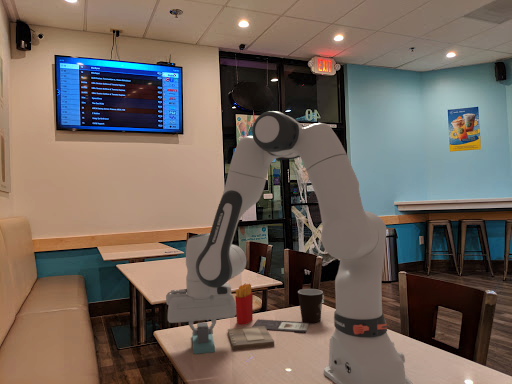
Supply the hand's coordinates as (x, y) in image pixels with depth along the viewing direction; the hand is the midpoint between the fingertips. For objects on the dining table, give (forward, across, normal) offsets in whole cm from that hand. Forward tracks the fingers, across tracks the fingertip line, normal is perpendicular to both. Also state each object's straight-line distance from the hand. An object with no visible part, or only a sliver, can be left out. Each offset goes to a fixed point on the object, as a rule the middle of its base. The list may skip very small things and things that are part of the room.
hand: (202, 334), depth 114 cm
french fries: (+3, +15, +17) cm, 23 cm away
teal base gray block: (+3, 0, 0) cm, 3 cm away
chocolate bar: (+4, +26, +9) cm, 28 cm away
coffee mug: (+3, +39, +13) cm, 41 cm away
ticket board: (+3, +14, 0) cm, 15 cm away
